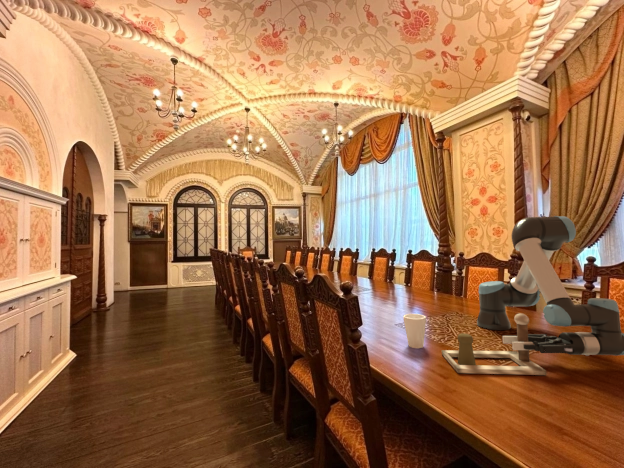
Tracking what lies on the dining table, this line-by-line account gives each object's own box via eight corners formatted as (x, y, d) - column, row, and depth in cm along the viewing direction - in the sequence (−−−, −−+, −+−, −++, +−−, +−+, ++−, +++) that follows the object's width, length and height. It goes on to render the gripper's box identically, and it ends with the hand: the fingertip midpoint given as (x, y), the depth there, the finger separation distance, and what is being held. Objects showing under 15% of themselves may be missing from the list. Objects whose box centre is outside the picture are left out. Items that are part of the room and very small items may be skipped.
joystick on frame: (517, 355, 111) (514, 308, 112) (547, 375, 94) (543, 319, 95) (441, 353, 115) (439, 308, 115) (457, 372, 98) (455, 319, 98)
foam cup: (427, 343, 128) (426, 314, 128) (426, 350, 119) (425, 319, 120) (405, 341, 132) (404, 313, 132) (403, 348, 123) (402, 318, 124)
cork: (454, 361, 108) (452, 332, 109) (469, 360, 109) (467, 331, 109) (464, 367, 102) (462, 337, 103) (479, 366, 103) (478, 336, 103)
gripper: (601, 365, 91) (524, 363, 94) (558, 344, 110) (495, 344, 113) (599, 341, 92) (522, 341, 95) (557, 325, 110) (494, 325, 113)
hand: (507, 342), depth 104 cm, fingers open, 6 cm apart
